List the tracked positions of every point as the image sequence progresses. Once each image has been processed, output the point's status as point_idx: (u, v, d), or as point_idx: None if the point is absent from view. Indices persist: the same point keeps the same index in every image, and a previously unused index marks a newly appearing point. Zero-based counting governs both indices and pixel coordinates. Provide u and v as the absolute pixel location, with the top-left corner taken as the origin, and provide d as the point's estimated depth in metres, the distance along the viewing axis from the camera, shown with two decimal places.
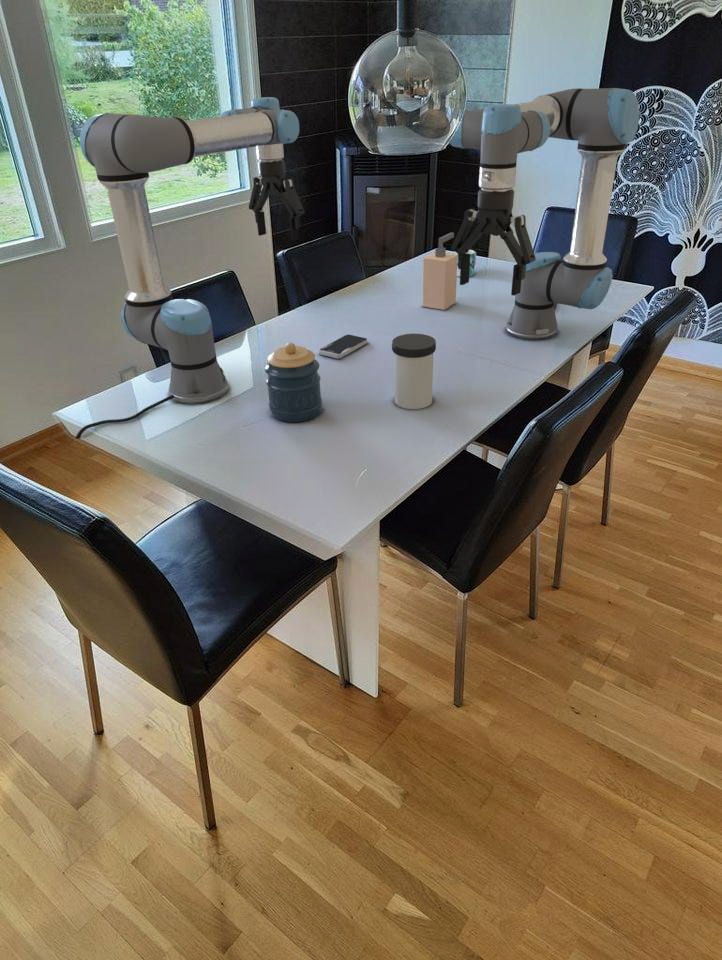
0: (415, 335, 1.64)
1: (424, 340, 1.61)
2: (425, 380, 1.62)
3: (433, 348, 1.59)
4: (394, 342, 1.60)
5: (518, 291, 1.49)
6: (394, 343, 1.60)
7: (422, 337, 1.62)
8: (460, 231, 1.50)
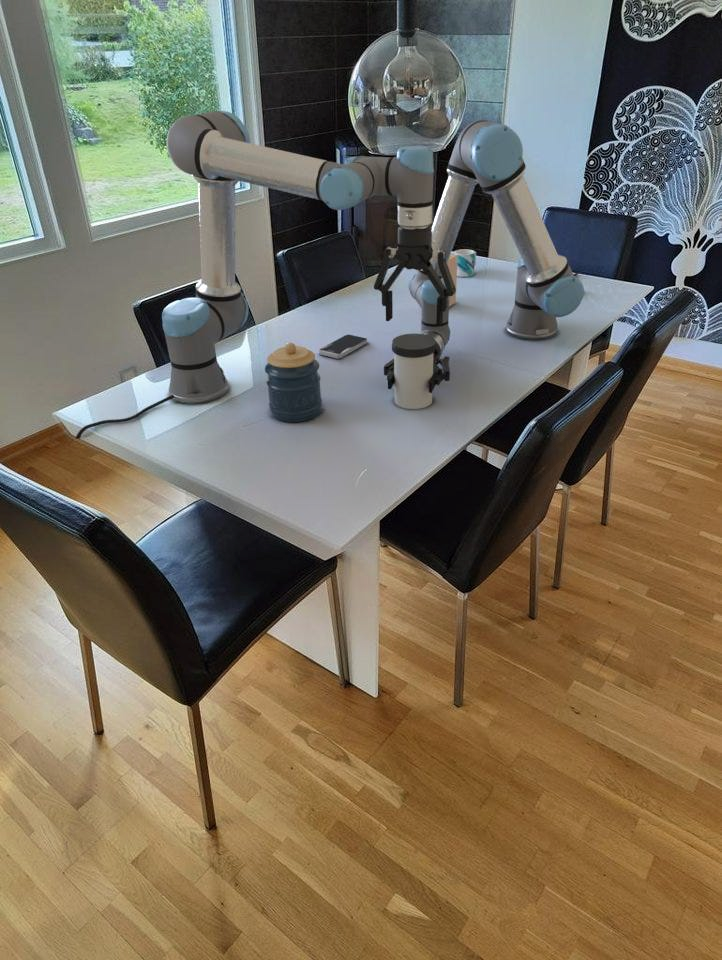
0: (415, 335, 1.64)
1: (424, 340, 1.61)
2: (425, 380, 1.62)
3: (433, 348, 1.59)
4: (394, 342, 1.60)
5: None
6: (394, 343, 1.60)
7: (422, 337, 1.62)
8: None
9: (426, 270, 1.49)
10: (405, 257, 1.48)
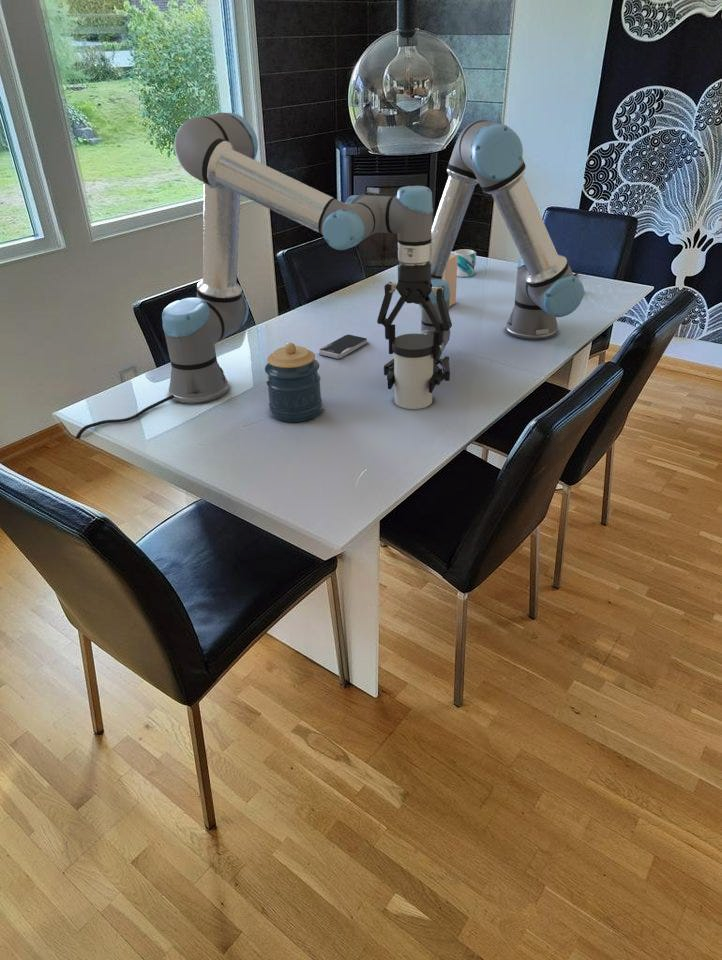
0: (415, 335, 1.64)
1: (424, 340, 1.61)
2: (426, 380, 1.62)
3: None
4: (394, 342, 1.60)
5: None
6: (394, 343, 1.60)
7: (422, 337, 1.63)
8: None
9: (424, 305, 1.53)
10: (405, 292, 1.53)
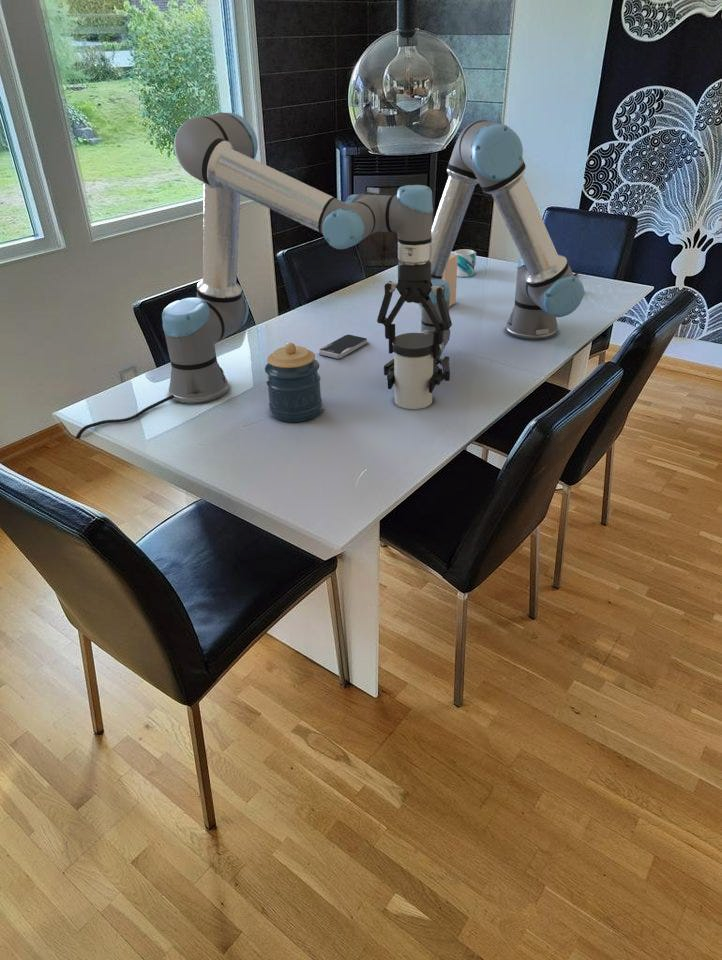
0: (398, 342, 1.59)
1: (407, 337, 1.62)
2: (426, 380, 1.62)
3: None
4: (425, 346, 1.57)
5: None
6: (428, 345, 1.57)
7: (399, 339, 1.61)
8: None
9: (424, 304, 1.53)
10: (405, 291, 1.53)
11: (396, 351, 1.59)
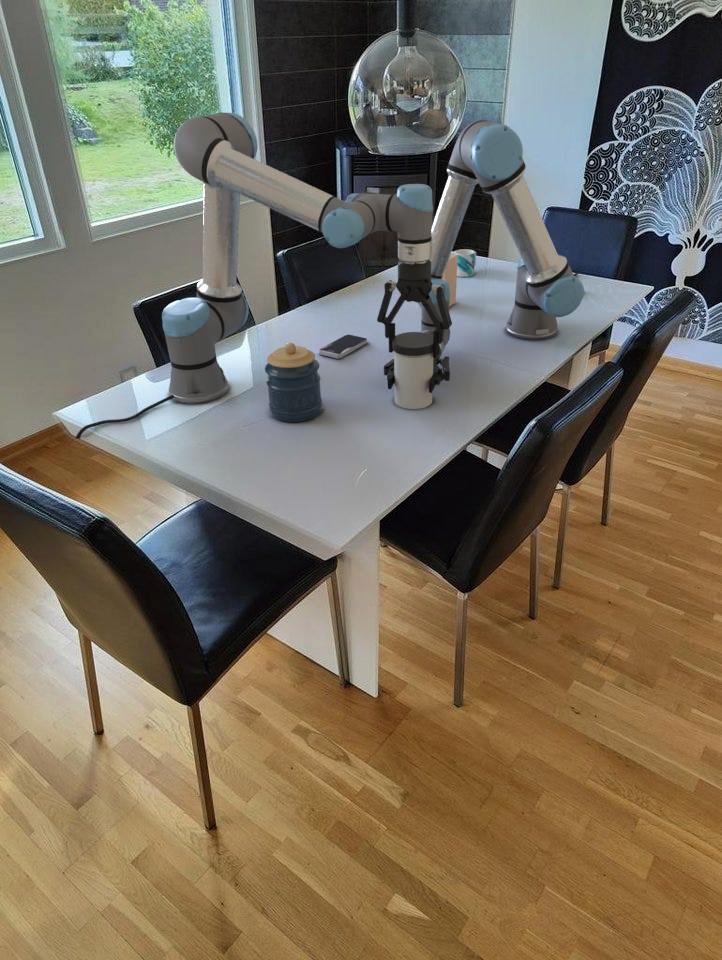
0: (426, 343, 1.58)
1: (409, 343, 1.58)
2: (426, 380, 1.62)
3: (395, 347, 1.59)
4: (422, 333, 1.64)
5: None
6: (419, 332, 1.64)
7: (418, 344, 1.57)
8: None
9: (424, 303, 1.53)
10: (405, 290, 1.52)
11: None
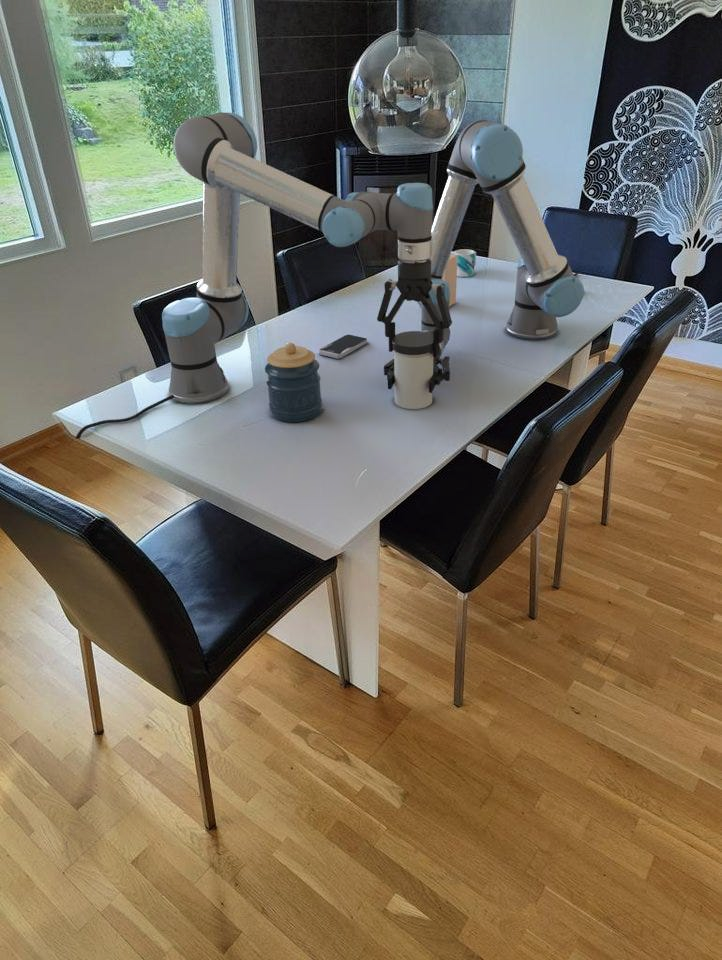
0: (416, 333, 1.63)
1: (424, 338, 1.60)
2: (426, 380, 1.62)
3: (432, 346, 1.58)
4: (394, 339, 1.60)
5: None
6: (394, 340, 1.60)
7: (423, 334, 1.62)
8: None
9: (425, 302, 1.53)
10: (405, 289, 1.52)
11: None
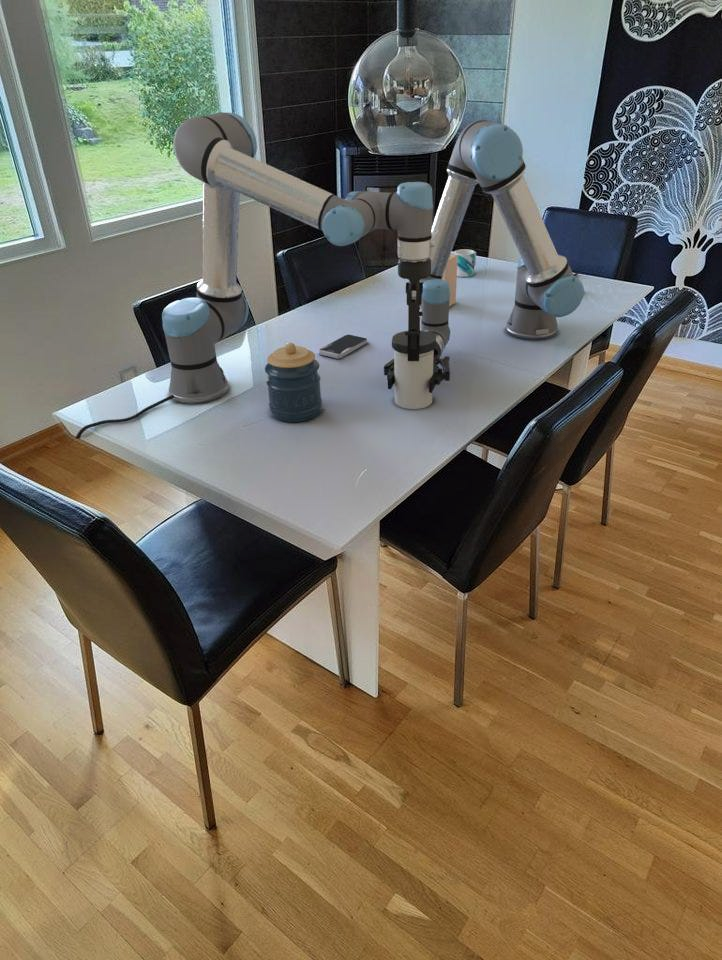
0: (397, 338, 1.60)
1: None
2: (426, 380, 1.62)
3: None
4: (420, 344, 1.56)
5: None
6: (423, 344, 1.56)
7: (400, 335, 1.61)
8: None
9: None
10: (422, 288, 1.52)
11: (393, 347, 1.60)
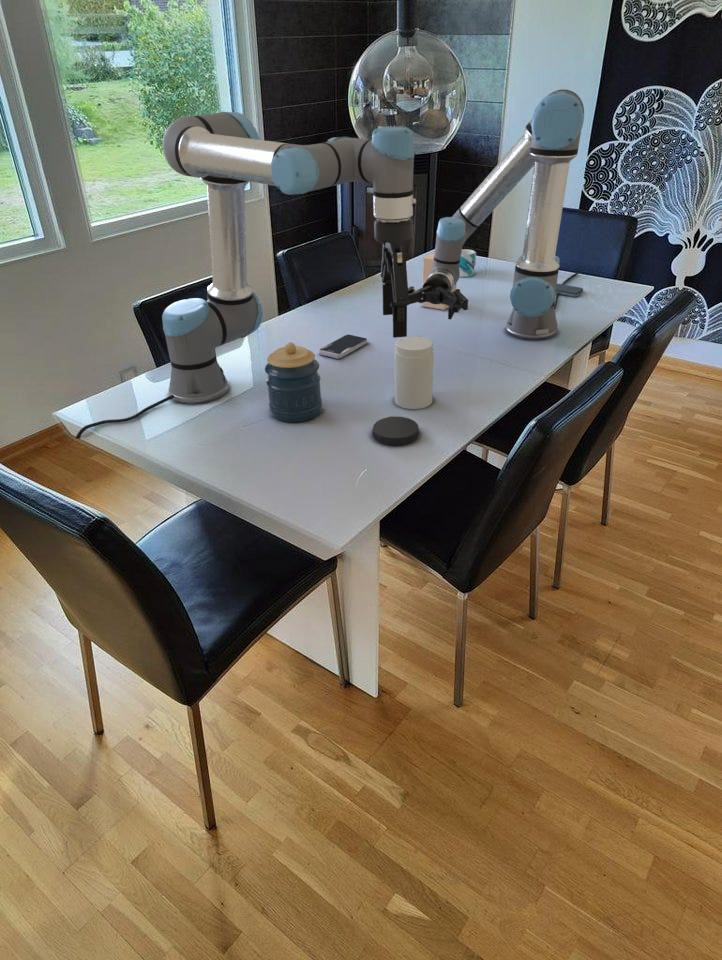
0: (379, 429, 1.53)
1: (389, 422, 1.55)
2: (426, 380, 1.62)
3: None
4: (406, 435, 1.50)
5: None
6: (408, 434, 1.50)
7: (381, 425, 1.54)
8: None
9: None
10: None
11: (376, 438, 1.52)
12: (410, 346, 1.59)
